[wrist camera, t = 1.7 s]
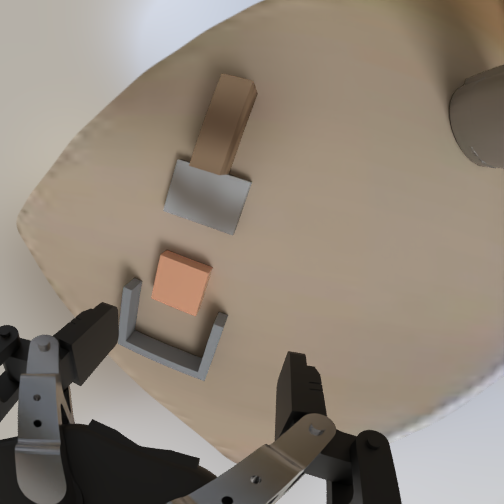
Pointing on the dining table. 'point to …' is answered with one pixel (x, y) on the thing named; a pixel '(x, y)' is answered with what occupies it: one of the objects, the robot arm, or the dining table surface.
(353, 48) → the dining table surface
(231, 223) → the brown and grey scraper
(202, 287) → the tile
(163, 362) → the bay
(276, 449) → the robot arm
